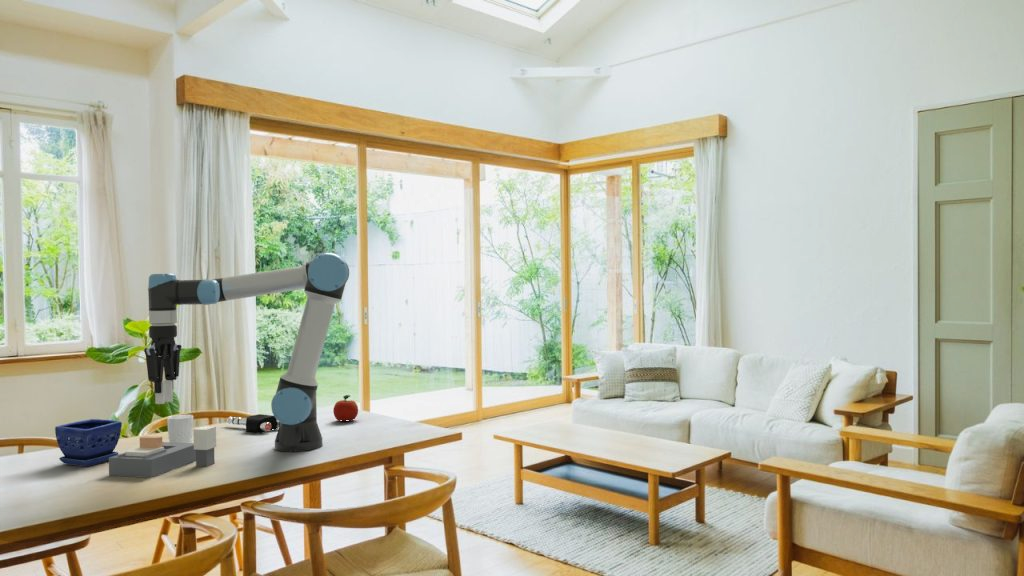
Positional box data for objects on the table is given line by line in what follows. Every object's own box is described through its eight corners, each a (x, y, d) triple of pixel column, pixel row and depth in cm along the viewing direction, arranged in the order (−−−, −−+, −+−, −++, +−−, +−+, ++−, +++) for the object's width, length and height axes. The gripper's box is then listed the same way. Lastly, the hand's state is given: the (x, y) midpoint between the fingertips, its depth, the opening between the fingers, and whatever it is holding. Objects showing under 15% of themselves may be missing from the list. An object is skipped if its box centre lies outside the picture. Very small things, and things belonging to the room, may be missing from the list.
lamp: (263, 420, 247) (214, 415, 259) (263, 435, 247) (215, 429, 259) (285, 415, 257) (238, 410, 268) (286, 429, 257) (238, 424, 268)
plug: (216, 463, 208) (215, 426, 208) (207, 467, 203) (206, 429, 203) (203, 462, 209) (203, 426, 209) (194, 466, 204) (193, 429, 204)
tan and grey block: (163, 450, 202) (163, 436, 202) (146, 456, 196) (146, 442, 196) (143, 450, 204) (143, 435, 204) (125, 455, 197) (125, 441, 197)
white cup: (183, 449, 226) (182, 419, 226) (162, 448, 227) (161, 418, 227) (198, 444, 234) (198, 414, 234) (178, 443, 235) (177, 414, 235)
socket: (198, 459, 212) (198, 440, 212) (151, 477, 193) (151, 456, 193) (159, 457, 215) (158, 439, 215) (109, 475, 196) (108, 454, 195)
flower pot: (124, 458, 215) (124, 420, 215) (85, 469, 203) (85, 428, 203) (92, 455, 219) (92, 418, 219) (53, 466, 207) (52, 426, 207)
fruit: (329, 423, 267) (328, 397, 267) (339, 418, 276) (338, 393, 276) (352, 423, 265) (352, 397, 265) (361, 418, 275) (361, 393, 275)
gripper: (170, 323, 216) (171, 398, 216) (132, 326, 201) (133, 407, 201) (191, 323, 214) (192, 398, 215) (155, 326, 199) (156, 407, 199)
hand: (164, 402), depth 208 cm, fingers open, 3 cm apart
